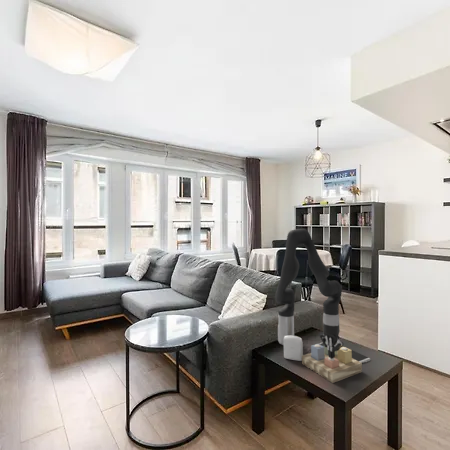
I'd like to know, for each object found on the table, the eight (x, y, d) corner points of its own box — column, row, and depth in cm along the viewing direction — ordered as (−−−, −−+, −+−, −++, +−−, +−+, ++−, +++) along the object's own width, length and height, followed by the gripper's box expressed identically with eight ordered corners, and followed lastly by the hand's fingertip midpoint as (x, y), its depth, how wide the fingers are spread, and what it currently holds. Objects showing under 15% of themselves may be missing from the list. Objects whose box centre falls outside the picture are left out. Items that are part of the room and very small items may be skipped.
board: (302, 364, 149) (302, 355, 149) (330, 355, 158) (329, 347, 158) (332, 383, 131) (332, 373, 131) (361, 372, 140) (361, 362, 140)
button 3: (324, 370, 140) (324, 357, 139) (331, 368, 142) (331, 355, 142) (332, 375, 135) (331, 361, 135) (338, 372, 138) (338, 359, 137)
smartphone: (354, 367, 146) (354, 364, 146) (314, 347, 170) (314, 344, 170) (371, 361, 152) (371, 358, 152) (330, 342, 176) (330, 339, 176)
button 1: (311, 357, 148) (311, 344, 147) (317, 355, 150) (317, 343, 150) (317, 360, 143) (317, 348, 143) (324, 358, 146) (324, 346, 145)
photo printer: (283, 358, 155) (282, 336, 155) (284, 355, 159) (284, 333, 159) (302, 362, 151) (302, 338, 151) (303, 358, 155) (303, 335, 155)
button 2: (323, 353, 152) (323, 341, 152) (330, 351, 154) (330, 339, 154) (330, 356, 148) (330, 344, 147) (337, 354, 150) (336, 342, 150)
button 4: (337, 360, 144) (337, 347, 144) (344, 358, 146) (343, 345, 146) (345, 364, 139) (345, 351, 139) (351, 362, 142) (351, 349, 142)
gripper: (315, 319, 142) (315, 354, 143) (336, 328, 131) (337, 365, 131) (326, 317, 146) (326, 350, 146) (347, 325, 134) (348, 361, 134)
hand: (331, 357), depth 139 cm, fingers closed
